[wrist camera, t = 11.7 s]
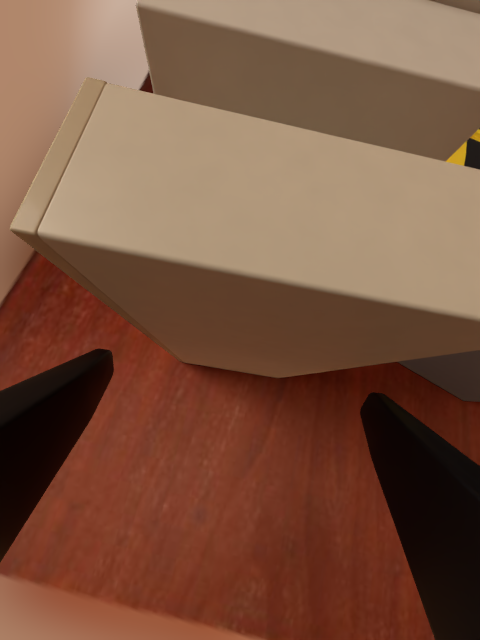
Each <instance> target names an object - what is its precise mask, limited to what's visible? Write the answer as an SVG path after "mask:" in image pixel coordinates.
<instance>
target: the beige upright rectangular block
mask: <svg viewBox="0 0 480 640" xmlns="http://www.w3.org/2000/svg"><path fill="white" fill-rule="evenodd" d="M136 8H137V13H138V18H139V23H140V28H141V32H142V38H143V42H144V47H145V53H146V57H147V62H148V67H149V72H150V77H151V82H152V87H153V92H154V94H157V95H161V96H165V97H169V98H174V99H178V100H182V101H187V102H191V103H195V104H200V105H204V106H208V107H212V108H217V109H221V110H225V111H230V112H234V113H238V114H243V115H247V116H251V117H256V118H260V119H264V120H268V121H273V122H277V123H281V124H286V125H290V126H294V127H299V128H303V129H307V130H311V131H316V132H320V133H324V134H329V135H333V136H337V137H342V138H346V139H350V140H355V141H359V142H363V143H367V144H372V145H376V146H380V147H385V148H389V149H393V150H398V151H402V152H406V153H410V154H415V155H419V156H423V157H428V158H432V159H436V160H441V161H447V160H448V159H449V158H450V157H451V156H452V155H453V154H454V153H455V152H456V151H457V150H458V149H459V148H460V147H461V146H462V145H463V144H464V143H465V142H466V141H467V140H468V139H469V138H470V137H471V136H472V135H473V134H474V133H475V132H476V131H477V130H478V129H479V128H480V0H137V2H136Z"/></svg>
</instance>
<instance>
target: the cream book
mask: <svg viewBox="0 0 480 640" xmlns="http://www.w3.org/2000/svg"><path fill="white" fill-rule="evenodd" d="M10 230H11V231H12V232H13V233H14V234H16V235H17V236H18V237H20V238H21V239H22V240H24V241H25V242H26V243H27V244H29V245H30V246H31V247H32V248H34V249H35V250H36V251H38V252H39V253H40V254H42V255H43V256H44V257H45V258H47V259H48V260H49V261H51V262H52V263H53V264H54V265H56V266H57V267H58V268H60V269H61V270H62V271H64V272H65V273H66V274H67V275H69V276H70V277H71V278H73V279H74V280H75V281H76V282H78V283H79V284H80V285H82V286H83V287H84V288H86V289H87V290H88V291H89V292H91V293H92V294H93V295H95V296H96V297H97V298H99V299H100V300H101V301H102V302H104V303H105V304H106V305H108V306H109V307H110V308H111V309H113V310H114V311H115V312H117V313H118V314H119V315H121V316H122V317H123V318H124V319H126V320H127V321H128V322H130V323H131V324H132V325H133V326H135V327H136V328H137V329H139V330H140V331H141V332H143V333H144V334H145V335H146V336H148V337H149V338H150V339H152V340H153V341H154V342H155V343H157V344H158V345H159V346H161V347H162V348H163V349H165V350H166V351H167V352H168V353H170V354H171V355H172V356H174V357H175V358H176V359H177V360H179V361H180V362H185V363H190V364H196V365H202V366H208V367H214V368H220V369H226V370H232V371H238V372H244V373H250V374H256V375H262V376H268V377H274V378H283V377H290V376H298V375H305V374H312V373H319V372H326V371H333V370H341V369H348V368H355V367H362V366H369V365H376V364H383V363H391V362H398V361H405V360H412V359H419V358H426V357H434V356H441V355H448V354H455V353H462V352H469V351H476V350H480V170H479V169H475V168H471V167H466V166H462V165H458V164H453V163H449V162H445V161H441V160H436V159H432V158H428V157H423V156H419V155H415V154H410V153H406V152H402V151H398V150H393V149H389V148H385V147H380V146H376V145H372V144H367V143H363V142H359V141H355V140H350V139H346V138H342V137H337V136H333V135H329V134H324V133H320V132H316V131H311V130H307V129H303V128H299V127H294V126H290V125H286V124H281V123H277V122H273V121H268V120H264V119H260V118H256V117H251V116H247V115H243V114H238V113H234V112H230V111H225V110H221V109H217V108H212V107H208V106H204V105H200V104H195V103H191V102H187V101H182V100H178V99H174V98H169V97H165V96H161V95H157V94H152V93H148V92H144V91H139V90H135V89H131V88H126V87H122V86H118V85H113V84H107V82H105V81H102V80H97V79H93V78H85V80H84V82H83V84H82V86H81V88H80V90H79V92H78V94H77V96H76V98H75V100H74V102H73V104H72V106H71V108H70V110H69V112H68V114H67V116H66V118H65V120H64V122H63V123H62V126H61V127H60V129H59V131H58V133H57V135H56V137H55V139H54V141H53V143H52V145H51V147H50V149H49V151H48V153H47V155H46V157H45V159H44V161H43V163H42V165H41V167H40V169H39V171H38V173H37V175H36V177H35V178H34V181H33V182H32V184H31V186H30V188H29V190H28V192H27V194H26V196H25V198H24V200H23V202H22V204H21V206H20V208H19V210H18V212H17V214H16V216H15V218H14V220H13V222H12V224H11V226H10Z"/></svg>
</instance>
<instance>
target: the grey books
mask: <svg viewBox="0 0 480 640" xmlns="http://www.w3.org/2000/svg"><path fill="white" fill-rule="evenodd" d="M398 363H400V364H401V365H403V366H405V367H406V368H408V369H410V370H412V371H413V372H415V373H417V374H418V375H420V376H422V377H424V378H425V379H427V380H429V381H430V382H432V383H434V384H436V385H437V386H439V387H441V388H442V389H444V390H446V391H447V392H449V393H451V394H453V395H454V396H456V397H458V398H459V399H461V400H463V401H475V402H480V350H476V351H469V352H462V353H455V354H448V355H441V356H434V357H426V358H419V359H412V360H405V361H398Z"/></svg>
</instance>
